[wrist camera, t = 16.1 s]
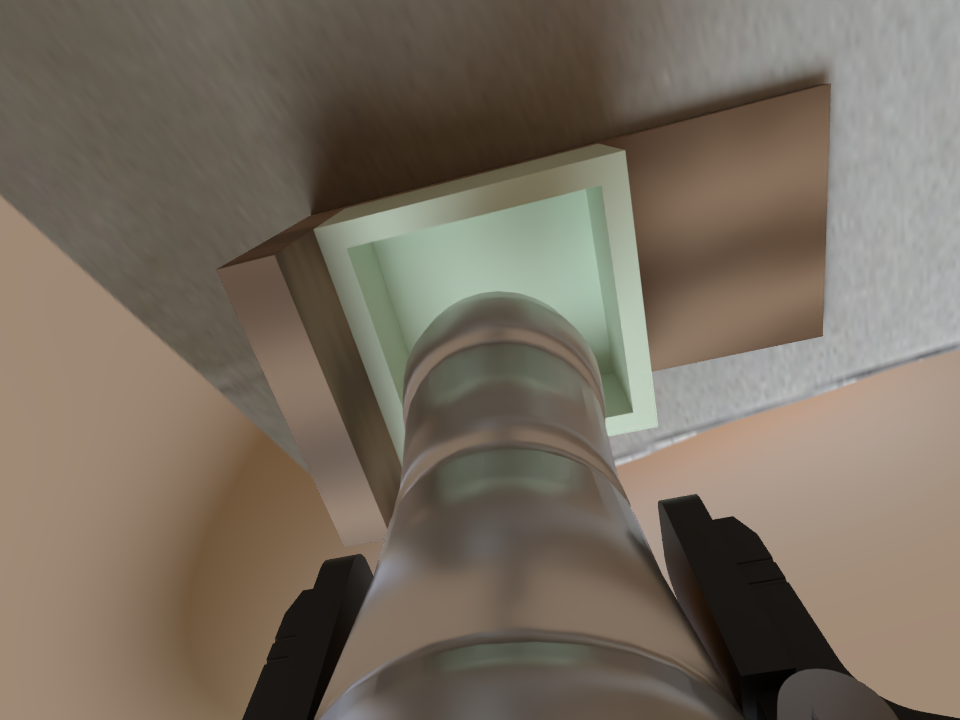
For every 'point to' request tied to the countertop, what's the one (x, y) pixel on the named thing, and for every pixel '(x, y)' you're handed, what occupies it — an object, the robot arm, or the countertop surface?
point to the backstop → (663, 272)
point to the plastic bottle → (516, 547)
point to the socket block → (499, 269)
